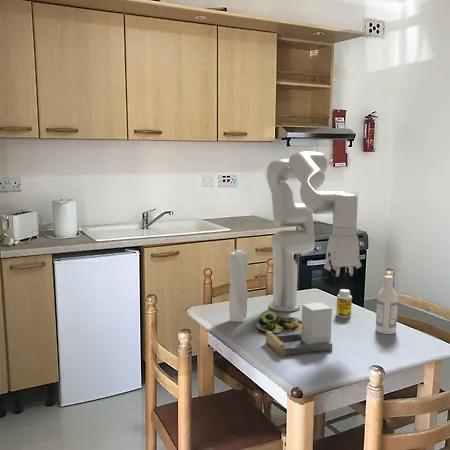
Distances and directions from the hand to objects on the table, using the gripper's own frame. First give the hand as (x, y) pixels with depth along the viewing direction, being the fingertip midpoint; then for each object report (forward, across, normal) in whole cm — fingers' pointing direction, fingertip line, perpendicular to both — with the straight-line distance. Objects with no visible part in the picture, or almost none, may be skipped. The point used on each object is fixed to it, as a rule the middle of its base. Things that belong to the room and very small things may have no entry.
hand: (341, 286), depth 165 cm
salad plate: (+20, +14, -19) cm, 31 cm away
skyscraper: (+19, +26, -31) cm, 45 cm away
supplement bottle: (+19, -15, -24) cm, 34 cm away
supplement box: (+19, +9, 0) cm, 21 cm away
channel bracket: (+19, +15, 0) cm, 24 cm away
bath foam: (+19, -21, -5) cm, 29 cm away
